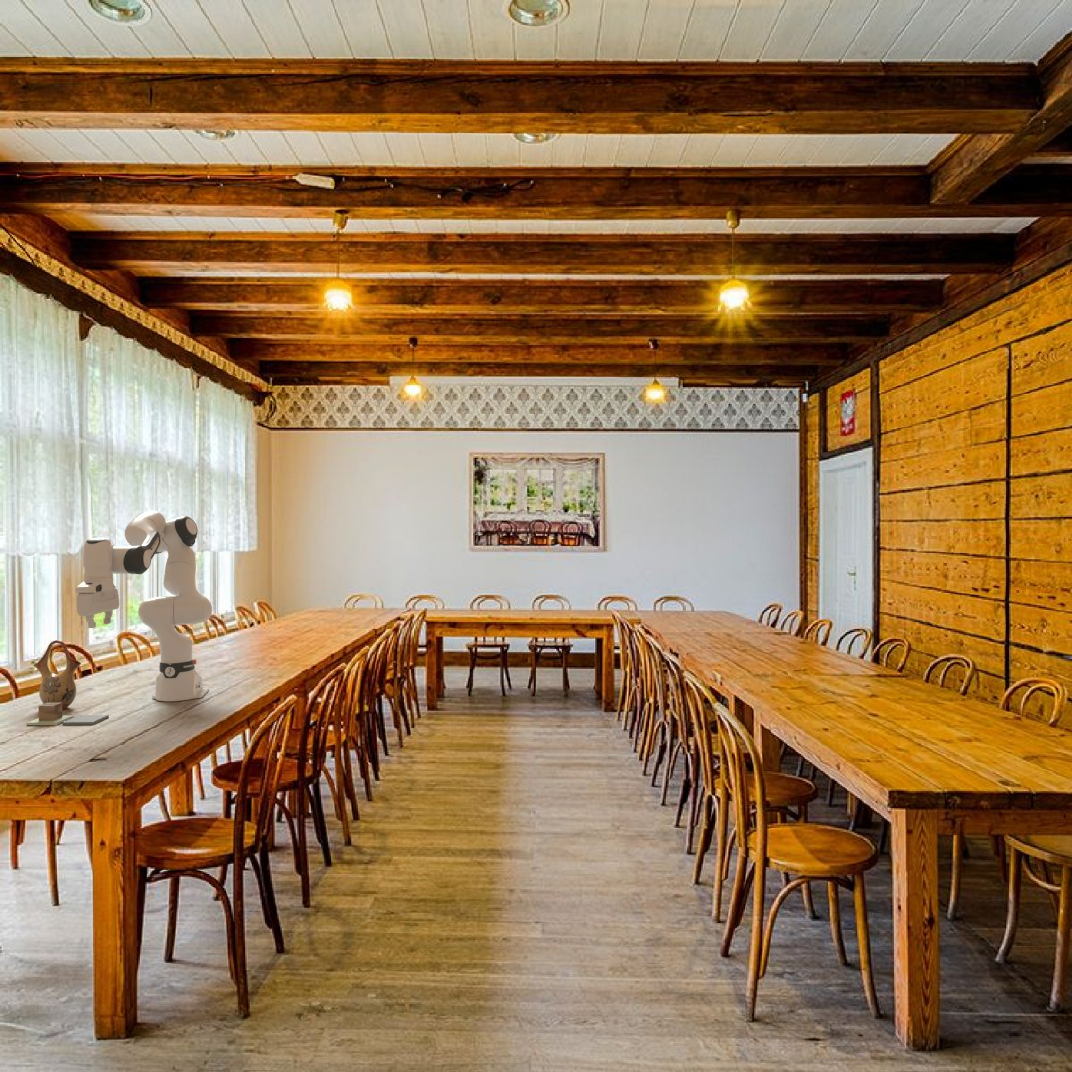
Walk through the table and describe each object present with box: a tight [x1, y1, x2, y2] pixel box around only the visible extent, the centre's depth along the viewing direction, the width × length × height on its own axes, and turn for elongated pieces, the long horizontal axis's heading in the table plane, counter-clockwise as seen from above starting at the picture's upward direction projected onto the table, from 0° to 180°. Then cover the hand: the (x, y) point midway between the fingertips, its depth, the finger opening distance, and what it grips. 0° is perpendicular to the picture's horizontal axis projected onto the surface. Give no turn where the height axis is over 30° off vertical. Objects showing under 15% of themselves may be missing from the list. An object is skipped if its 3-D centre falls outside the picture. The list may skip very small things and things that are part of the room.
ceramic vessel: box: [33, 639, 82, 710], centre depth 291 cm, size 16×9×25 cm, turn 94°
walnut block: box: [38, 703, 63, 721], centre depth 271 cm, size 5×5×5 cm
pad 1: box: [25, 714, 75, 726], centre depth 271 cm, size 10×10×1 cm
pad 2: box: [62, 714, 110, 726], centre depth 271 cm, size 10×10×1 cm
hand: (99, 625), depth 274 cm, fingers open, 8 cm apart
